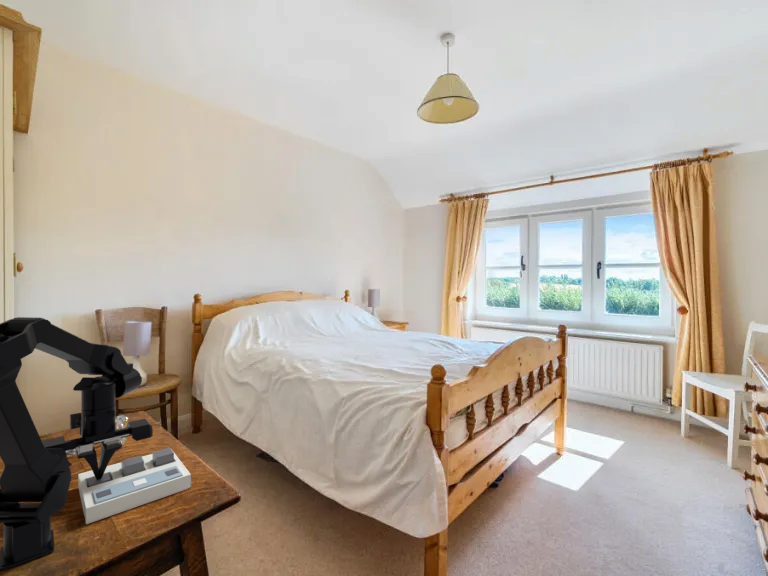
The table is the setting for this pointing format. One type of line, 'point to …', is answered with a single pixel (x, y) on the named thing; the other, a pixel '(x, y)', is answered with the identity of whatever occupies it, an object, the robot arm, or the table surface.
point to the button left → (93, 481)
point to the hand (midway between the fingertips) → (98, 478)
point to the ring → (119, 422)
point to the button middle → (132, 466)
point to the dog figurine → (70, 452)
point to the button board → (131, 488)
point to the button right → (163, 457)
